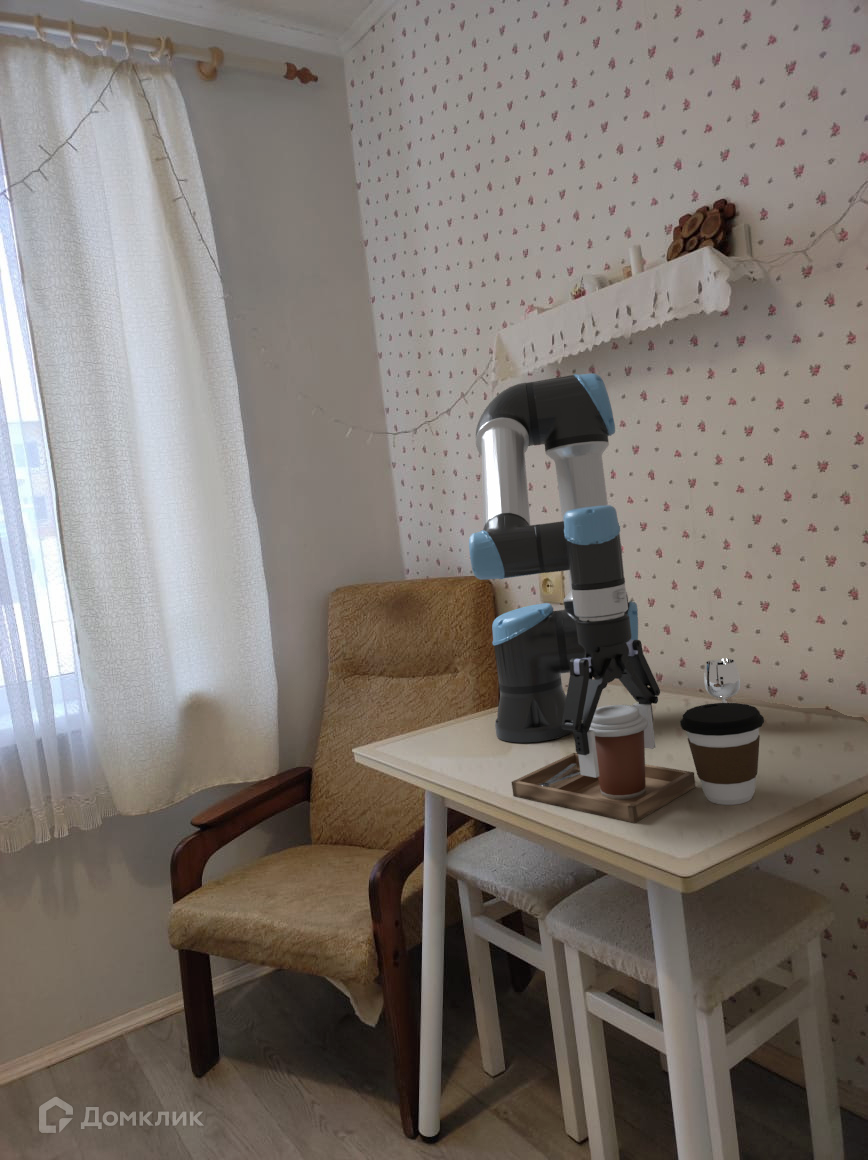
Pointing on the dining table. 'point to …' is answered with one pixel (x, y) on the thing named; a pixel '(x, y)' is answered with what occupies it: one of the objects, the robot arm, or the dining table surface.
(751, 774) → the coffee cup
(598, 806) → the walnut caddy
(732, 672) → the wineglass
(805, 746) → the dining table surface
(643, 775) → the coffee cup
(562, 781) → the steel tongs
